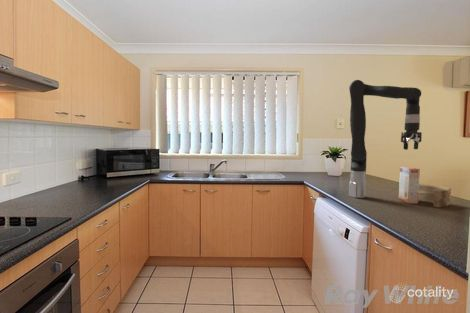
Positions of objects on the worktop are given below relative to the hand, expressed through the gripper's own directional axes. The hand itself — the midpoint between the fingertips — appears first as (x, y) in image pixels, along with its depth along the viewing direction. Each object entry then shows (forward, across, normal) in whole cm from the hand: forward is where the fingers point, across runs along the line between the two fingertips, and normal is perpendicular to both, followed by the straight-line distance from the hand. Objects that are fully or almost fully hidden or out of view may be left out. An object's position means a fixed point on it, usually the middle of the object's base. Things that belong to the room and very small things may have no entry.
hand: (410, 149), depth 165 cm
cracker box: (+32, 0, 0) cm, 32 cm away
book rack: (+32, -7, +6) cm, 33 cm away
